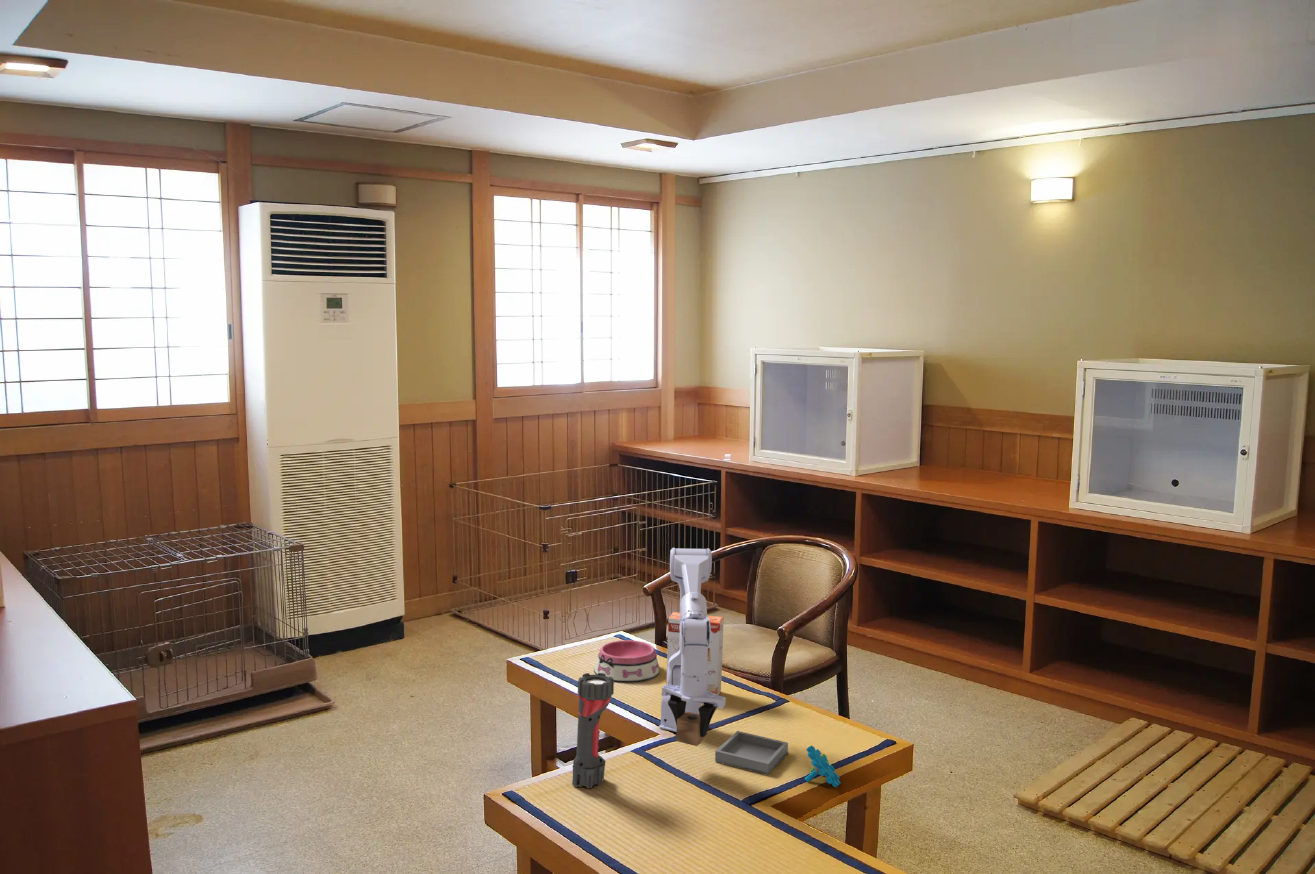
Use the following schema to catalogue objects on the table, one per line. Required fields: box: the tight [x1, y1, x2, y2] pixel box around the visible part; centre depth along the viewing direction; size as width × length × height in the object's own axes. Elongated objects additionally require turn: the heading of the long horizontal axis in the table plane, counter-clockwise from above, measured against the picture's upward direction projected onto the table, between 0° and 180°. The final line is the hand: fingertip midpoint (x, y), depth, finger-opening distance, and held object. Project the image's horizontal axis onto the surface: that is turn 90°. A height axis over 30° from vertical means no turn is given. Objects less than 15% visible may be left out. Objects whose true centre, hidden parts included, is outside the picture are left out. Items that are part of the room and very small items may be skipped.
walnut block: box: [676, 711, 708, 747], centre depth 211 cm, size 5×5×5 cm
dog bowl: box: [593, 639, 661, 684], centre depth 271 cm, size 18×19×7 cm
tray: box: [714, 730, 789, 776], centre depth 219 cm, size 13×13×2 cm
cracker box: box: [665, 611, 725, 696], centre depth 255 cm, size 14×6×21 cm, turn 76°
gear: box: [804, 745, 841, 788], centre depth 208 cm, size 11×6×10 cm
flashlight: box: [571, 672, 615, 789], centre depth 204 cm, size 8×8×23 cm
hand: (692, 732), depth 212 cm, fingers closed on walnut block, 5 cm apart
